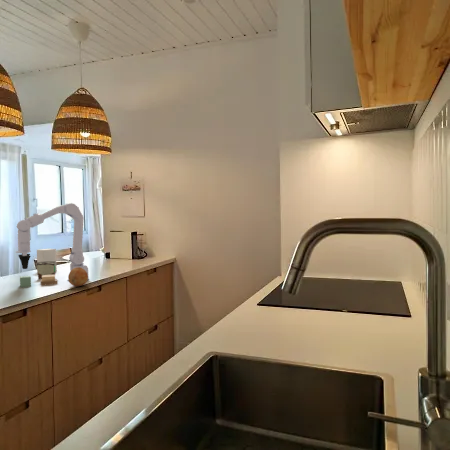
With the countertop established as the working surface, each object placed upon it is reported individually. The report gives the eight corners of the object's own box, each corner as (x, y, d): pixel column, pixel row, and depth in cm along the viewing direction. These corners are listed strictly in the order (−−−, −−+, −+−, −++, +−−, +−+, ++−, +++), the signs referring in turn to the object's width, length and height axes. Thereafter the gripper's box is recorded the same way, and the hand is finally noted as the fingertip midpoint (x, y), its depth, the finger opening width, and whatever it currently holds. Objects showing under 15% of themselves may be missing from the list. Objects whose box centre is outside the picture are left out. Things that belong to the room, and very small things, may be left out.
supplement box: (57, 271, 262) (56, 248, 261) (44, 272, 255) (43, 250, 254) (50, 270, 267) (49, 248, 267) (37, 271, 260) (36, 249, 260)
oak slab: (55, 280, 213) (54, 276, 213) (41, 281, 210) (41, 277, 210) (54, 278, 219) (54, 274, 219) (42, 279, 216) (41, 275, 216)
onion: (90, 284, 211) (90, 265, 210) (84, 287, 201) (84, 268, 200) (72, 284, 210) (71, 266, 210) (65, 288, 200) (65, 268, 200)
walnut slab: (57, 285, 213) (57, 280, 213) (41, 286, 210) (41, 282, 210) (56, 282, 220) (56, 278, 220) (40, 284, 217) (40, 279, 217)
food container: (61, 277, 235) (60, 261, 234) (55, 279, 229) (55, 262, 228) (41, 277, 236) (41, 261, 236) (35, 279, 230) (35, 262, 230)
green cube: (31, 286, 208) (30, 277, 208) (20, 287, 206) (20, 277, 206) (30, 284, 213) (30, 275, 213) (20, 285, 210) (19, 276, 210)
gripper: (15, 242, 213) (16, 267, 214) (15, 244, 200) (16, 270, 201) (29, 241, 217) (30, 266, 217) (31, 243, 204) (31, 269, 204)
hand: (24, 268), depth 209 cm, fingers open, 7 cm apart
